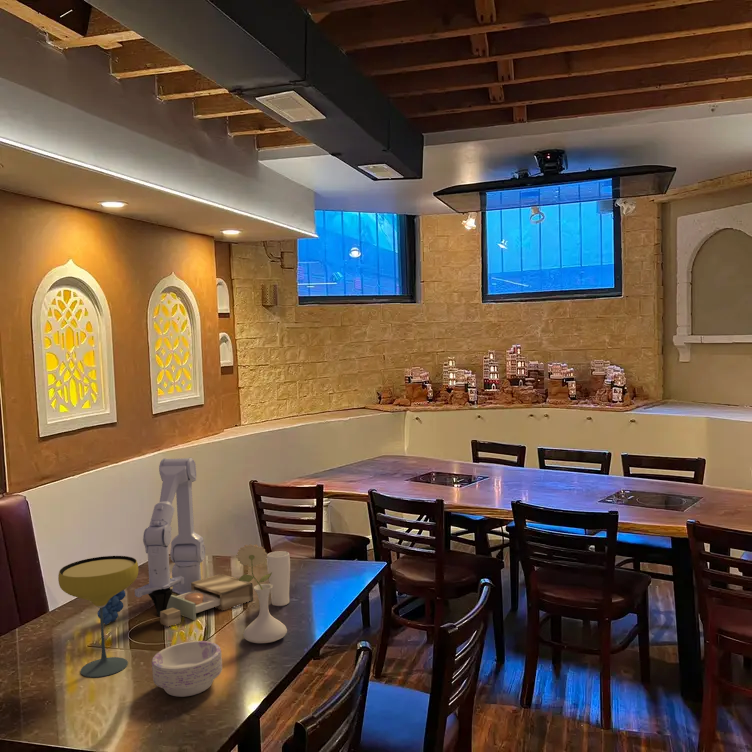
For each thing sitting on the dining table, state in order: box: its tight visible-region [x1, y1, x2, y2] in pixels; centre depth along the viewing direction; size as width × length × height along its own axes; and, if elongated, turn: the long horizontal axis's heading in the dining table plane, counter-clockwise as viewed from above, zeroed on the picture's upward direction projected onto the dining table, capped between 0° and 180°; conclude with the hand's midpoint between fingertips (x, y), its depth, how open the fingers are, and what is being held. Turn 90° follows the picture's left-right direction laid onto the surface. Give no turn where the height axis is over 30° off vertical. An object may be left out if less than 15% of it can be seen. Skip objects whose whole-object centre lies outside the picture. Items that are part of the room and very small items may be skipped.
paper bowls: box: [151, 640, 223, 698], centre depth 163 cm, size 15×15×8 cm
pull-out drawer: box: [166, 590, 220, 621], centre depth 215 cm, size 16×10×5 cm, turn 47°
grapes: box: [97, 589, 126, 625], centre depth 207 cm, size 12×7×12 cm, turn 165°
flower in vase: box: [235, 543, 288, 644], centre depth 190 cm, size 13×11×25 cm
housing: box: [191, 573, 254, 611], centre depth 222 cm, size 16×11×5 cm
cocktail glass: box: [57, 555, 139, 679], centre depth 176 cm, size 18×18×25 cm
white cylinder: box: [266, 550, 291, 607], centre depth 216 cm, size 7×7×15 cm
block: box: [159, 608, 182, 628], centre depth 204 cm, size 4×4×4 cm
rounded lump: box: [184, 593, 203, 605], centre depth 215 cm, size 5×5×2 cm
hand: (161, 615), depth 207 cm, fingers closed
